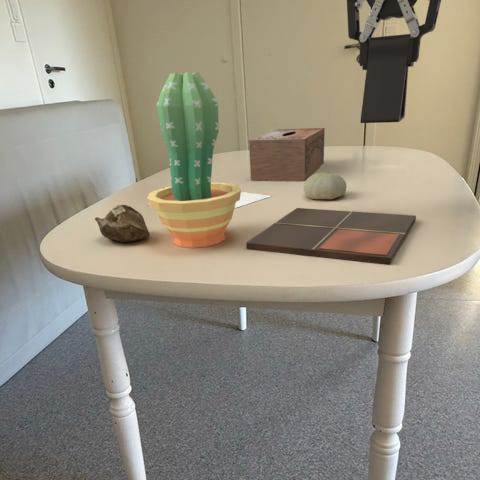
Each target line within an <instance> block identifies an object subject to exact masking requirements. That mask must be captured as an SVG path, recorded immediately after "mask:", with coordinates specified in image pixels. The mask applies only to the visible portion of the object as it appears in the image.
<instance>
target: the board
mask: <svg viewBox="0 0 480 480" xmlns="http://www.w3.org/2000/svg"><path fill="white" fill-rule="evenodd" d="M416 221H417V215H415V214H399V213H383V212H368V211H367V212H366V211H354V210H351V211H350V210H335V209H322V208H321V209H319V208H306V207H296V208H294V209H293V210H292V211H290V212H289V213H287V214H286V215H284V216H283V217H282V218H280V219H278V220H277V221H276V222H273V224H271V225H270V226H268V227H267V228H265V229H264V230H262V231H261V232H259V233H258V234H257V235H255V236H254V237H252V238H251V239H250V240H248V241H247V242H245V245H246V248H245V249H247V250H257V251H264V252H265V251H266V252H274V253H282V254H283V253H284V254H293V255H299V256H300V255H302V256H310V257H319V258H327V259H336V260H345V261H355V262H362V263H373V264H381V265H391V264H392V262H393V260H394V259H395V257H396V256H397V254H398V252H399V250H400V248H401V246H402V245H403V243H404V242H405V240H406V238H407V237H408V234H409V233H410V231H411V229H412V227H413V226H414V225H415V223H416Z"/></svg>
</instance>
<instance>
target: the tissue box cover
mask: <svg viewBox="0 0 480 480" xmlns="http://www.w3.org/2000/svg"><path fill="white" fill-rule="evenodd" d="M325 129H326V128H325V127H309V128H278V129H274V130H271V131H269V132H267V133H264V134H261V135H259V136H257V137H254V138H252V139H249V140H248V146H249V147H248V149H249V150H248V151H249V165H250V166H249V167H250V171H249V172H250V181H251V180H270V181H269V182H306V181H307V179H308V178H309V177H311V176H312V175H314V174H315V172H316V171H318V169H320V168H321V167H322V166H323V165H324V164H325V160H324V159H325V132H326V131H325ZM322 164H323V165H322ZM321 165H322V166H321ZM320 166H321V167H320Z"/></svg>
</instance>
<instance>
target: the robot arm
mask: <svg viewBox="0 0 480 480" xmlns="http://www.w3.org/2000/svg"><path fill="white" fill-rule="evenodd" d="M365 1H366V2H367V4H368V6H369V8H370V11H369V14H368V16H367V18H366V21H365V25H364V27H363V29H362V31H361V26H360V25H361V21H360V11H361V10H362V9H363V6H364V2H365ZM427 1H428V2H429V3H428V7H427V12H426V16H425V21H424V23H423V24H421V25H420V22H419V18H418V15H417V13H416V10H415V7H414V6H415V5H416V3H417V2H418V0H346V12H347V15H346V16H347V31H348V32H347V33H348V35H347V37H348V38H349V39H350V40H353V41H357V42H358V43H359V58H358V63H359V66H360V67H362V71H366V70H367V62H368V47H369V40H370V38H372V37H373V36H374V34H375V32H376V30H377V28H378V27H379V25H380V24H381V21H388V20H391V19H393V18H394V19H404V22H405V24H406V26H407V28H408V31H409V34H411V39H409V46H408V55H407V67H408V68H413V67H414V65H415V63H417V62H418V61H419V57H420V51H421V50H420V49H421V40H422V37H423V36H425V35H426V34H429V33H432V32H433V31H434V30H435V29H436V25H437V20H438V17H439V12H440V9H441V8H440V7H441V3H442V0H427Z"/></svg>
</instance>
